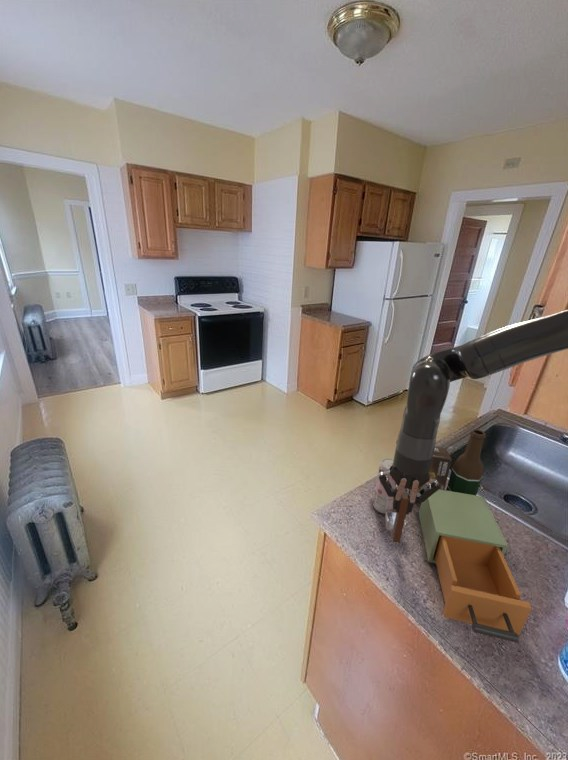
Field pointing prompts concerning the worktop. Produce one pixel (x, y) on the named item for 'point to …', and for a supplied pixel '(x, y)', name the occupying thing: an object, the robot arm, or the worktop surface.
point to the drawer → (480, 588)
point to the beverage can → (381, 497)
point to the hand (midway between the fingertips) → (401, 510)
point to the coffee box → (439, 467)
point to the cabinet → (458, 521)
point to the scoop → (397, 519)
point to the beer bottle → (468, 467)
